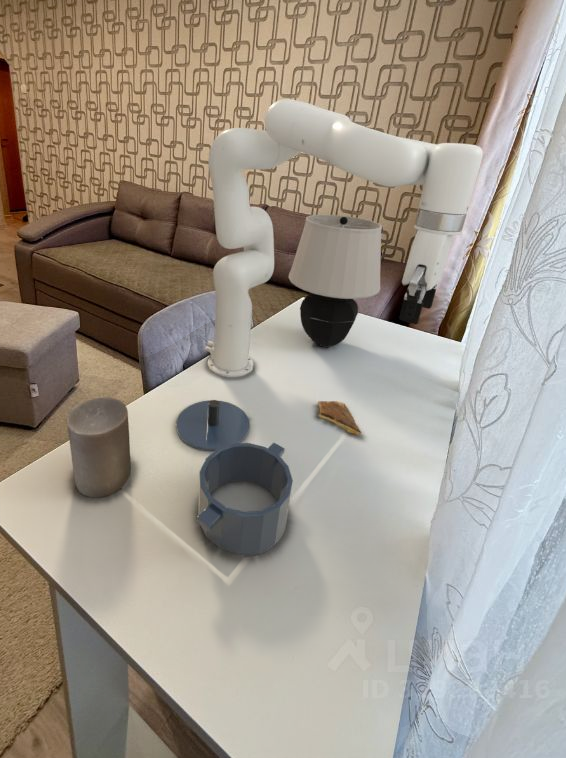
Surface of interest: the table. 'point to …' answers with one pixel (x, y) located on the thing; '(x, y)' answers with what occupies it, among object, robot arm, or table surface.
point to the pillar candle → (99, 446)
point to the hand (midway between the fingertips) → (415, 313)
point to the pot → (234, 526)
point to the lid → (212, 425)
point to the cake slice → (338, 415)
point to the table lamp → (335, 273)
